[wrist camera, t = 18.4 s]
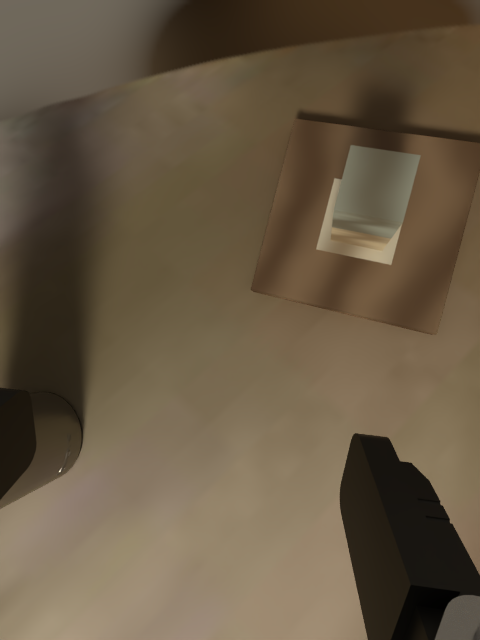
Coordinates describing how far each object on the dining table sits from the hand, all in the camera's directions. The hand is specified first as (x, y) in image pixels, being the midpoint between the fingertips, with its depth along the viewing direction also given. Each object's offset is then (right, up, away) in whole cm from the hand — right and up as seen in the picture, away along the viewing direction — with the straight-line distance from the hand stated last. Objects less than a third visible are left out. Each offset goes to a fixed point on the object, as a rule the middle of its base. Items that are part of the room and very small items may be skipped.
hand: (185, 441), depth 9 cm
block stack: (+12, +12, +23) cm, 28 cm away
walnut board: (+12, +11, +24) cm, 29 cm away
